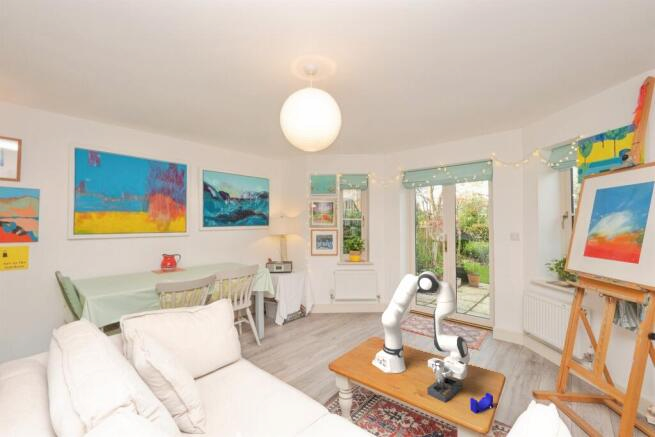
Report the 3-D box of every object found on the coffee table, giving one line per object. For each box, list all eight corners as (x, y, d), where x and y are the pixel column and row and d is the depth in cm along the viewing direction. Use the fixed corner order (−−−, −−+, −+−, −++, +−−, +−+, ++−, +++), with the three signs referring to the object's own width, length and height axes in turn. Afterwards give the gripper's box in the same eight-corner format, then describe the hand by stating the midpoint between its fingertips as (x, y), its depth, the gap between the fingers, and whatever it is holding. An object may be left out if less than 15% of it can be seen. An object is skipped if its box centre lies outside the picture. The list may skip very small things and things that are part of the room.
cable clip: (485, 402, 149) (485, 390, 149) (493, 407, 145) (492, 395, 145) (468, 408, 145) (467, 396, 145) (475, 414, 141) (475, 401, 141)
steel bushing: (433, 386, 157) (432, 362, 157) (438, 382, 160) (437, 359, 161) (442, 390, 153) (441, 365, 153) (447, 386, 156) (446, 362, 157)
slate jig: (427, 394, 158) (427, 387, 158) (445, 381, 170) (444, 375, 170) (445, 402, 150) (444, 395, 150) (462, 388, 162) (461, 381, 162)
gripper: (434, 353, 173) (421, 360, 164) (469, 365, 157) (457, 374, 149) (434, 363, 173) (422, 371, 164) (469, 376, 157) (457, 386, 149)
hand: (438, 373), depth 156 cm, fingers closed on steel bushing, 4 cm apart
